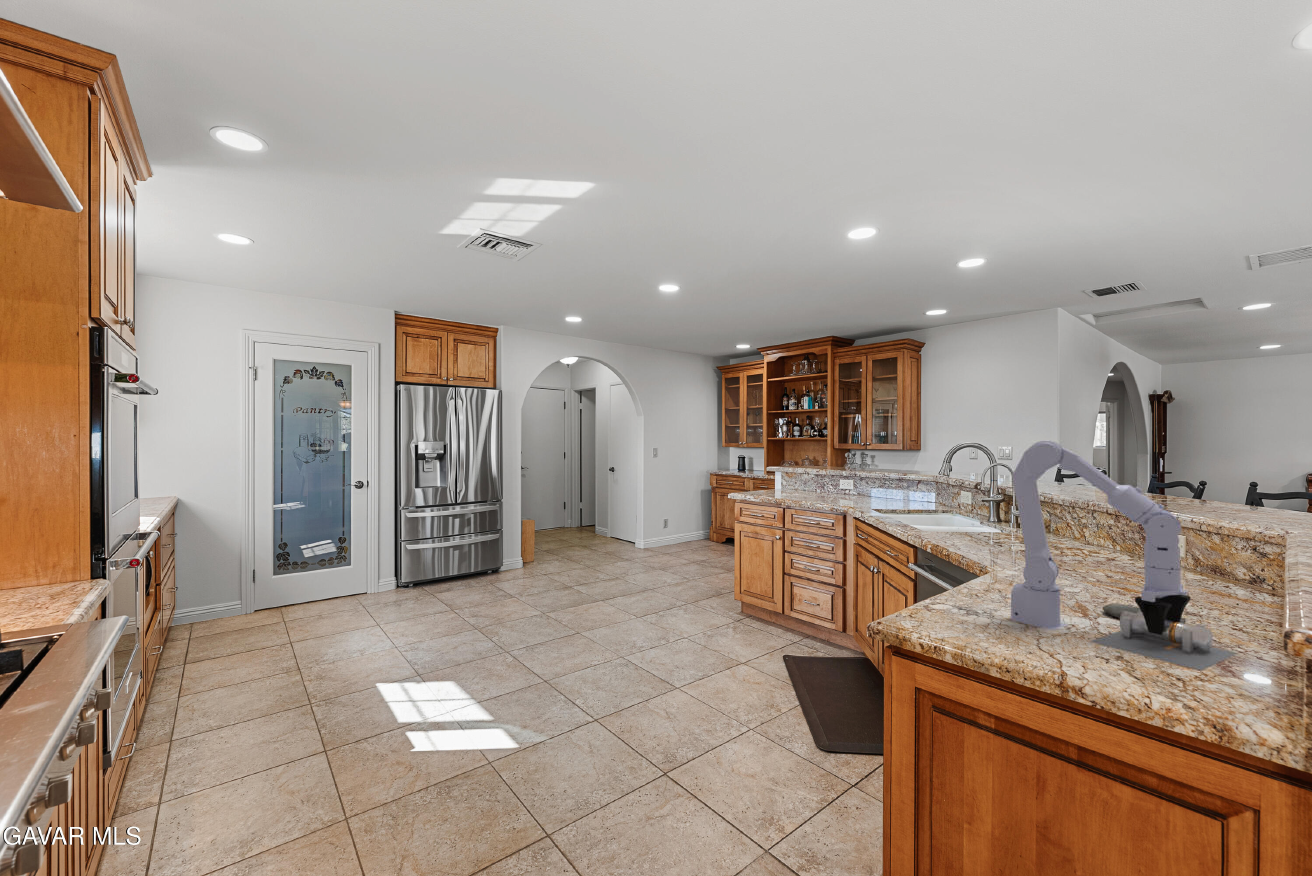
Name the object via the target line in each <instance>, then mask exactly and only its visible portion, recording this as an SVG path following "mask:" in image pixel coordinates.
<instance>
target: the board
mask: <svg viewBox="0 0 1312 876" xmlns="http://www.w3.org/2000/svg"><path fill="white" fill-rule="evenodd" d="M1089 642H1091V643H1093V644H1098V645H1101V646H1105V647H1108V648H1109V647H1110V648H1114V649H1115V650H1116V649H1117V650H1120V651H1125V652H1128V653H1132V654H1136V655H1139V656H1143V657H1147V658H1151V659H1154V660H1159V661H1162V662H1166V663H1169V664H1173V665H1177V666H1181V667H1183V668H1184V667H1185V668H1189V669H1193V670H1196V671H1200V672H1202V671H1204V670H1207V669H1208V668H1211V667H1212V666H1214V665H1216V664H1219V663H1221V662H1224V661H1225V660H1227V659H1229V658H1231V657H1233V656H1235V655H1237V654H1238V652H1235V651H1232V650H1231V651H1230V650H1226V649H1222V648H1218V647H1212V646H1211V649H1210V650H1209V651H1206V650H1202V649H1201V650H1199V651H1197V652H1194V653H1192V654H1188V653H1184V652H1183V645H1181V644H1176V643H1172V642H1168V641H1164V640H1160V639H1155V638H1151V637H1147V636H1143V635H1140V636H1137V637H1135V638H1132V639H1127V638H1123V630H1122V629H1120V631H1119V630H1117V631H1116V632H1113V633H1111V634H1110V633H1109V634H1108V635H1104V636H1101V637H1098V638H1095V639H1093V640H1089Z"/></svg>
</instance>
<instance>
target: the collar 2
mask: <svg viewBox="0 0 1312 876" xmlns="http://www.w3.org/2000/svg"><path fill="white" fill-rule="evenodd" d="M1195 626H1198V627H1203V628H1207V625H1204V624H1201V623H1198V624H1196V625H1195ZM1182 645H1183V652H1184V653H1188V654H1192V653H1194V652H1197V651H1199V650H1201V649H1198V648H1193V634H1192V631H1191V630H1186V629H1184V630H1182Z"/></svg>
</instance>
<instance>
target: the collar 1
mask: <svg viewBox="0 0 1312 876" xmlns="http://www.w3.org/2000/svg"><path fill="white" fill-rule="evenodd" d="M1137 614H1141V615H1143V614H1142V612H1137ZM1137 636H1140V635H1139V634H1134V633H1132V618H1131V617H1126V616H1124V617H1123V638H1127V639H1132V638H1135V637H1137Z"/></svg>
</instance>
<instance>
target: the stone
mask: <svg viewBox="0 0 1312 876" xmlns="http://www.w3.org/2000/svg"><path fill="white" fill-rule="evenodd" d="M1102 610H1103V612H1105V613H1107V614H1109V615H1111V616H1112V617H1115V618H1117V619H1119V620H1120V616H1121V614H1122V612H1124V611H1127V612H1132V613H1136V614H1137V612H1142V611H1141V610H1140V608H1139V606H1138V607H1137V606H1133V605H1129V604H1123V603H1110V604H1107V605H1103V606H1102ZM1186 622H1187V621H1186V618H1185V617H1181V620H1180V623H1184V624H1186Z"/></svg>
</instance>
